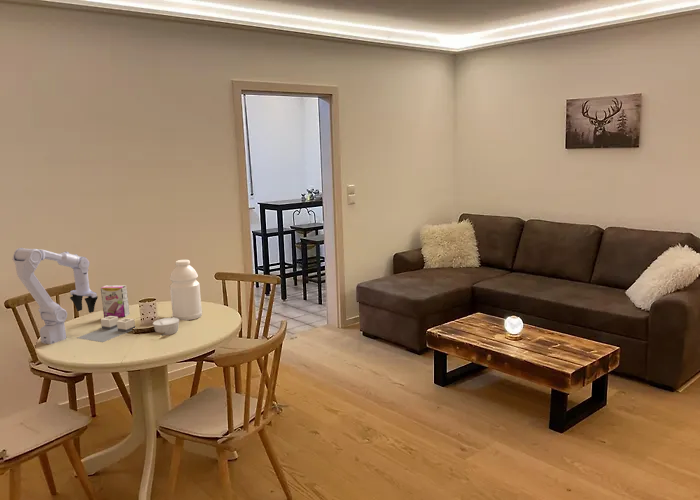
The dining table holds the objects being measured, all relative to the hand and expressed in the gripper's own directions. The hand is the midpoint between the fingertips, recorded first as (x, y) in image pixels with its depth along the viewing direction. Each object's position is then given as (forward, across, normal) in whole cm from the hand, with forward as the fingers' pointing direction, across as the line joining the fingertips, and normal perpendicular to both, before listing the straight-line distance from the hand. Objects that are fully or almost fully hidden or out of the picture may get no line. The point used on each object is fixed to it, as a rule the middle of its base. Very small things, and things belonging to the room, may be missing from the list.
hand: (85, 311), depth 260 cm
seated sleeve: (+8, -20, -4) cm, 22 cm away
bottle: (+10, -30, -33) cm, 46 cm away
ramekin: (+10, -37, -11) cm, 40 cm away
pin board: (+9, -15, +2) cm, 18 cm away
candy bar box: (+10, +2, -19) cm, 21 cm away
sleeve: (+8, -10, -4) cm, 13 cm away
